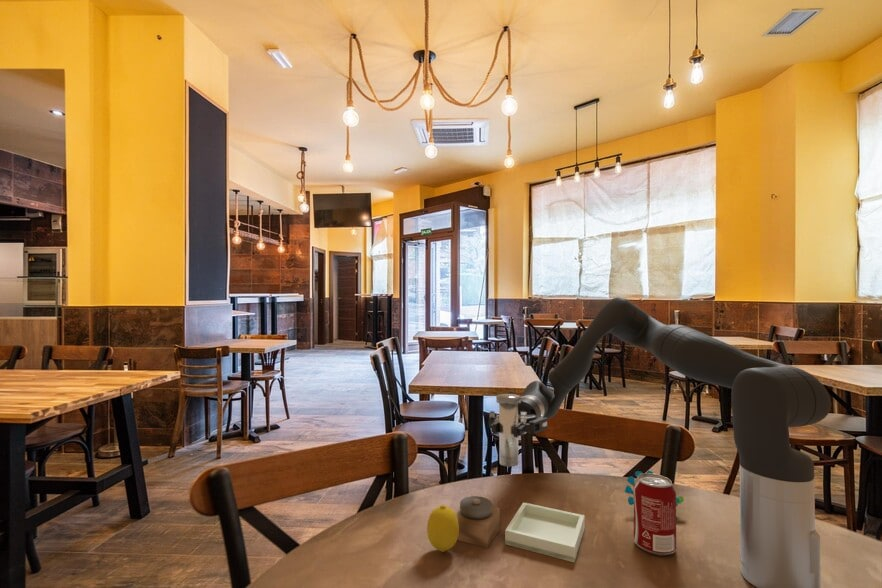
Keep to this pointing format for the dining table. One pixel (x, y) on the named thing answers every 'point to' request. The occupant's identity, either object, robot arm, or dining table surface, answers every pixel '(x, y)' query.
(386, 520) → the dining table surface
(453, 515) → the lemon
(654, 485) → the soda can
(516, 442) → the pin
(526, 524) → the tray
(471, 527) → the pulley stand
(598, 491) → the dining table surface
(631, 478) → the gear
